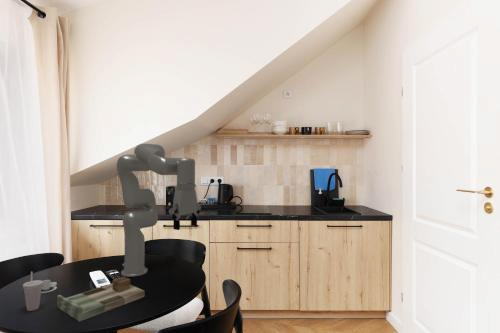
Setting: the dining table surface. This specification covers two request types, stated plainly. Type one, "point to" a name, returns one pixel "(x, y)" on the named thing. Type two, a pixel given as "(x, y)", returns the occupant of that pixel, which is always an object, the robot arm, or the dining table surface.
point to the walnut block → (121, 284)
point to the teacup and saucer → (48, 285)
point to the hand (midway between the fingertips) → (185, 227)
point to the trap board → (97, 301)
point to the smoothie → (32, 293)
